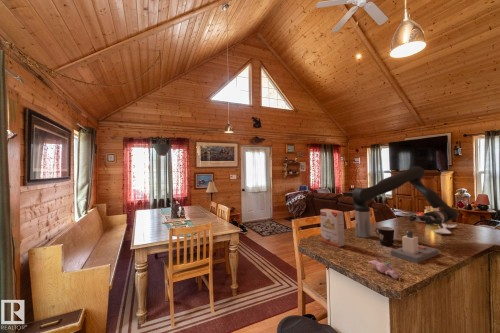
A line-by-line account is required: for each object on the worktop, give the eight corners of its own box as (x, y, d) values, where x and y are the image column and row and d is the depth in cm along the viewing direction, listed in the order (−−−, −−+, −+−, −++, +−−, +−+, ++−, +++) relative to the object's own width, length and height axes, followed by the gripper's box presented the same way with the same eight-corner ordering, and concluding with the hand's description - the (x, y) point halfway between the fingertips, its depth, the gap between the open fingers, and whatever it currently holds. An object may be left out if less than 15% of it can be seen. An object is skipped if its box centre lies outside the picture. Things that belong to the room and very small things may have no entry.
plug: (414, 259, 111) (412, 233, 111) (403, 256, 115) (401, 231, 116) (418, 256, 113) (417, 231, 114) (407, 254, 118) (406, 229, 118)
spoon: (458, 228, 165) (457, 223, 165) (449, 237, 145) (449, 231, 145) (442, 226, 172) (442, 221, 172) (432, 234, 152) (431, 229, 152)
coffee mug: (398, 247, 128) (397, 230, 128) (381, 247, 129) (380, 230, 130) (389, 241, 139) (388, 225, 139) (374, 241, 141) (373, 225, 141)
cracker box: (320, 241, 143) (319, 209, 144) (327, 240, 146) (326, 208, 147) (338, 247, 131) (336, 212, 132) (345, 245, 134) (343, 211, 134)
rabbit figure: (406, 282, 91) (373, 263, 105) (408, 268, 91) (375, 251, 104) (396, 285, 89) (364, 265, 103) (398, 271, 88) (365, 253, 102)
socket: (417, 263, 106) (416, 256, 106) (391, 255, 116) (390, 249, 116) (438, 254, 116) (438, 247, 116) (413, 247, 127) (413, 242, 127)
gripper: (419, 209, 136) (405, 212, 129) (448, 213, 124) (434, 216, 116) (419, 221, 136) (405, 225, 128) (449, 226, 124) (435, 230, 116)
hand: (419, 220), depth 122 cm, fingers open, 8 cm apart
